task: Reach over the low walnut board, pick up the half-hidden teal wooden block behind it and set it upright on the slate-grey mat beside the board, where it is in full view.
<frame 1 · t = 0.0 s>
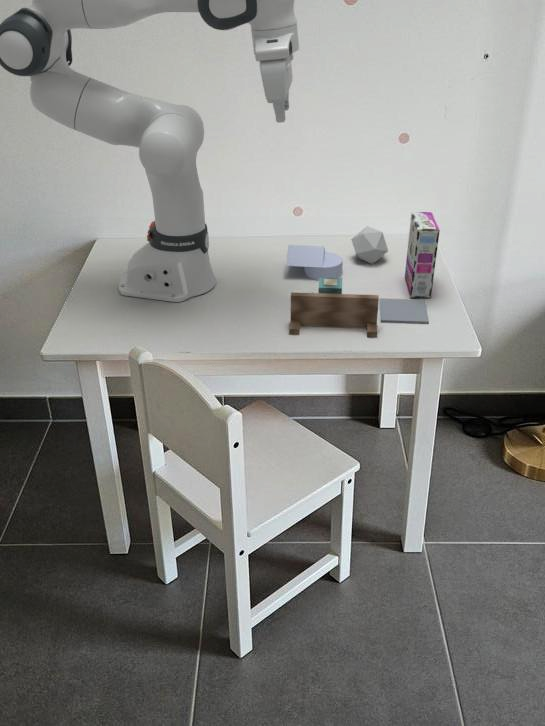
hand: (283, 115, 149), 39 cm above the table, tool pointing down, fingers open, 8 cm apart
grey mat: (403, 311, 159), on the table
die: (368, 260, 182), on the table
walnut board: (333, 325, 154), on the table
teal block: (329, 307, 161), on the table
candy bar box: (417, 288, 169), on the table
wedge on round base: (315, 272, 177), on the table
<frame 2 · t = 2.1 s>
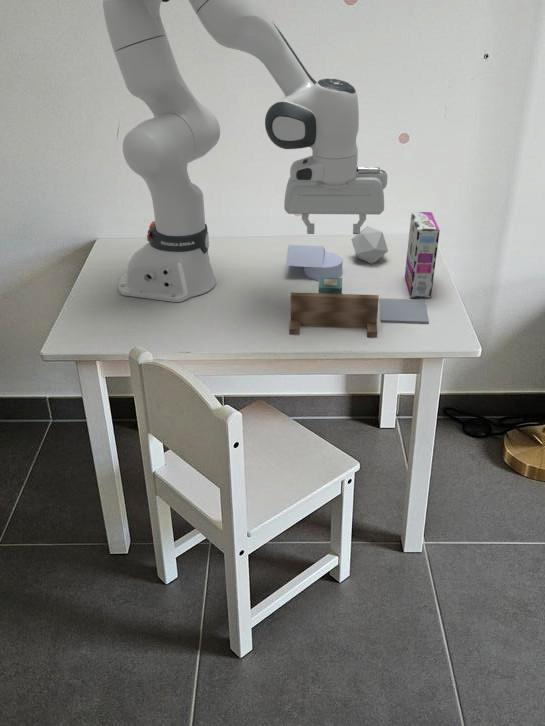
hand: (333, 233, 152), 17 cm above the table, tool pointing down, fingers open, 8 cm apart
nothing on the table moved.
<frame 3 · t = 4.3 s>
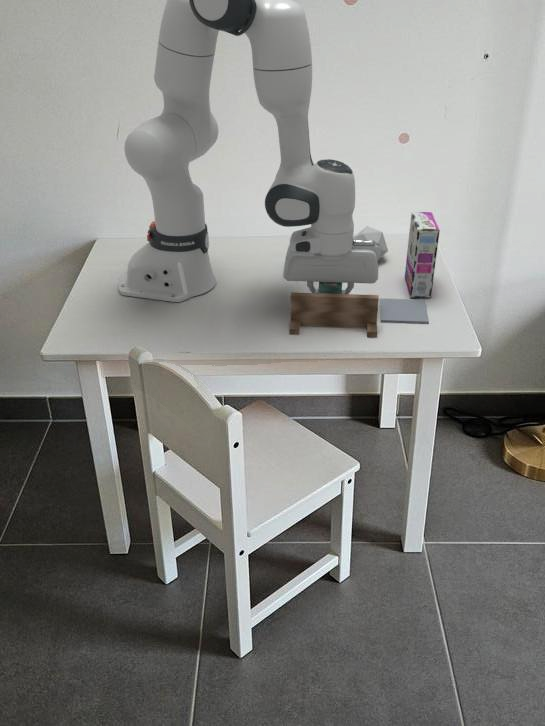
hand: (329, 298, 160), 2 cm above the table, tool pointing down, fingers closed on teal block, 5 cm apart
teal block: (329, 307, 161), on the table, touching gripper
everything else where it was.
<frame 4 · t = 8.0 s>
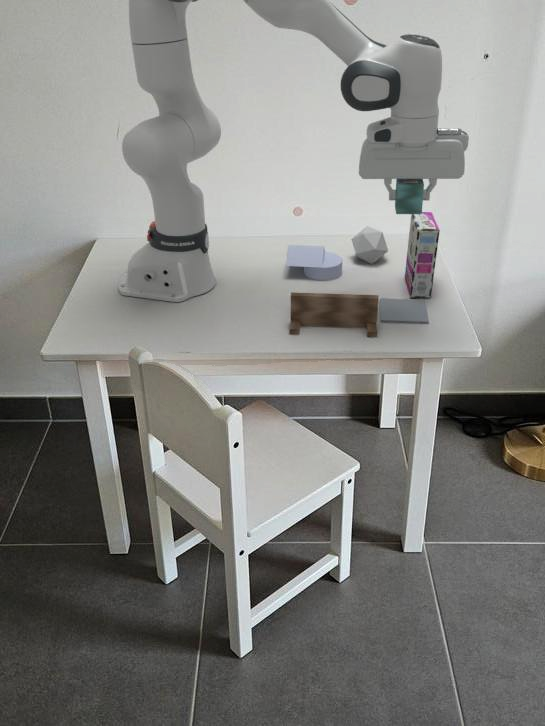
hand: (408, 199, 146), 25 cm above the table, tool pointing down, fingers closed on teal block, 5 cm apart
teal block: (408, 209, 147), point 23 cm above the table, touching gripper
everything else where it was.
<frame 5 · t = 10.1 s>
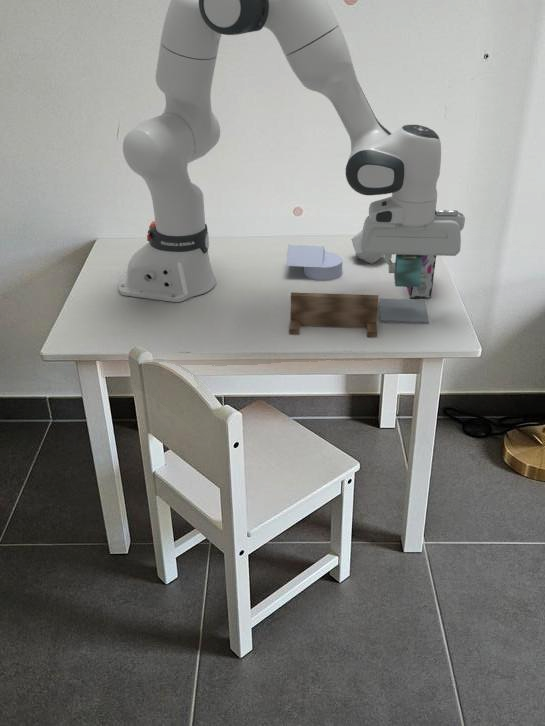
hand: (407, 272, 154), 9 cm above the table, tool pointing down, fingers closed on teal block, 5 cm apart
teal block: (406, 281, 155), point 7 cm above the table, touching gripper
everything else where it was.
when the fingers open (4 cm above the table, at t = 11.7 s): teal block stays where it is, resting on grey mat.
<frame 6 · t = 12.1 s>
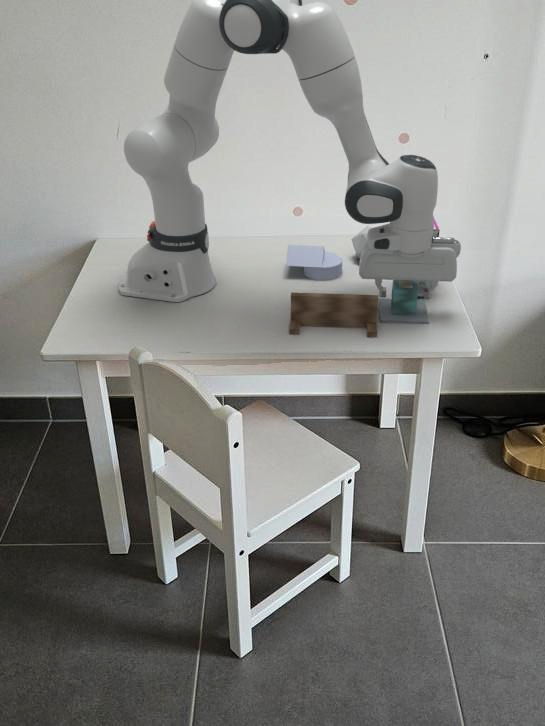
hand: (404, 296, 157), 4 cm above the table, tool pointing down, fingers open, 8 cm apart
teal block: (403, 309, 159), resting on grey mat
everything else where it was.
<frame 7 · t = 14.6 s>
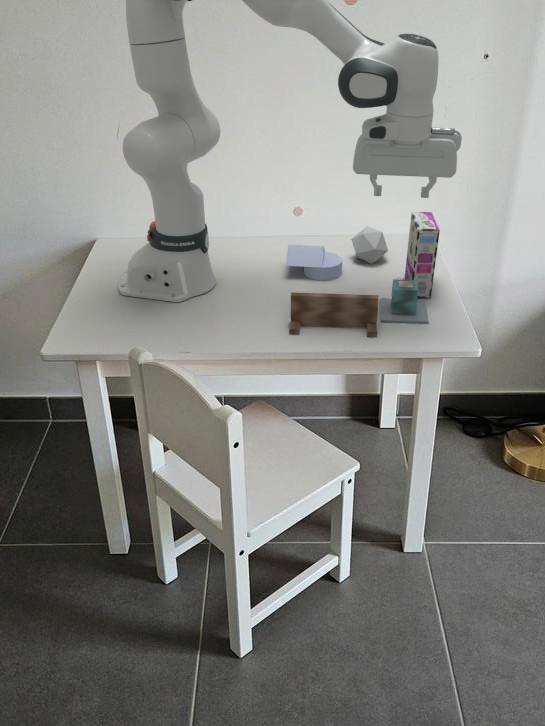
hand: (400, 196, 148), 25 cm above the table, tool pointing down, fingers open, 8 cm apart
nothing on the table moved.
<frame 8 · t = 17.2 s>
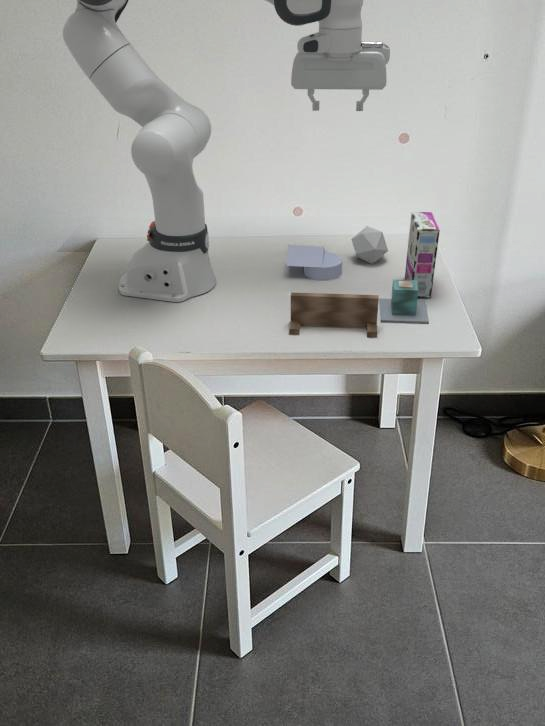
hand: (337, 110, 159), 37 cm above the table, tool pointing down, fingers open, 8 cm apart
nothing on the table moved.
at the end: teal block 0.1 cm off-centre on the grey mat, point 0.5 cm above the grey mat's base; teal block tilted 0°; the gripper is holding nothing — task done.
